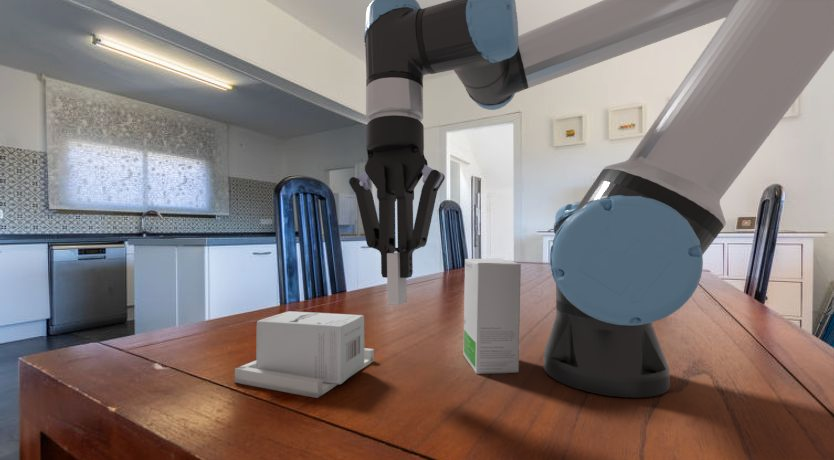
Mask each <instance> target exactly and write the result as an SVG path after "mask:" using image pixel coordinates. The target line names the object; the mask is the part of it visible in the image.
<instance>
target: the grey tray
mask: <svg viewBox="0 0 834 460" xmlns="http://www.w3.org/2000/svg"><path fill="white" fill-rule="evenodd" d="M374 362H375V349H374V348H367V347H364V366H363V367H361V368H360V369H359V370H358V371H356V372H355V373H354V374H353V375H355V374H356V373H358V372H359V371H361V370H362V369H364V368H366V367H367V366H369V365H370V364H372V363H374ZM353 375H351V376H350V377H352V376H353ZM234 383H235V384H239V385H240V384H241V385H246V386H251V387H256V388H262V389H266V390H272V391H278V392H281V393H282V392H284V393H288V394H294V395H298V396H299V395H300V396H304V397H309V398H310V397H311V398H315V399H319V398H320V397H321V396H323V395H324V394H327V392H329V391H330V390H332V389H333V388H335V387H337V386H338V385H339V384H333V383H324V382H323V380H322V379H316V378H310V377H304V376H298V375H292V374H286V373H280V372H274V371H268V370H262V369H256V360H253V361H250V362H247V363H245V364H244V365H243V364H242V365H241V366H238V367H235V368H234Z"/></svg>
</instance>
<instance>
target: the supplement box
mask: <svg viewBox="0 0 834 460" xmlns="http://www.w3.org/2000/svg"><path fill="white" fill-rule="evenodd" d="M255 344H256V350H255V351H256V352H255V353H256V355H255V358H256V369H262V370H268V371H274V372H280V373H286V374H292V375H298V376H304V377H310V378H316V379H322V380H323V382H324V383H333V384H338V385H341V384H343V383H344V382H345V381H347V380H348V379H349V378H351V377H352V376H354V375H355V374H356V373H357V372H356V371H358V370H359V369H360V368H361V367H363V366H364V348H365V316H364V315H363V314H347V313H346V314H345V313H330V312H308V311H290V310H289V311H284V312H282V313H278V314H275V315H272V316H269V317H266V318H262V319H260V320H257V322H256V343H255ZM359 371H360V370H359ZM359 371H358V372H359ZM355 372H356V373H355ZM354 373H355V374H354ZM351 375H352V376H351Z"/></svg>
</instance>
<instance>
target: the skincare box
mask: <svg viewBox="0 0 834 460" xmlns="http://www.w3.org/2000/svg"><path fill="white" fill-rule="evenodd" d="M521 267H522V265H521V263H518V262H515V261H512V260H508V259H503V258H465V259H464V294H463V298H464V299H463V303H464V304H463V306H464V307H463V347H462V348H463V352H462V353H463V356H464V358H465V359H466V361H467V362H468V364H469V365H470V367H471V368H472V369H473V371H474V372H475V374H476V375H484V374H485V375H487V374H511V373H512V374H513V373H514V374H515V373H517V374H518V373H520V370H519V369H520V325H521V324H520V323H521V322H520V321H521V320H520V318H521V317H520V313H521V311H520V309H521V277H522V276H521V274H522V273H521V271H522V270H521Z"/></svg>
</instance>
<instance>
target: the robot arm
mask: <svg viewBox="0 0 834 460" xmlns="http://www.w3.org/2000/svg"><path fill="white" fill-rule="evenodd" d="M723 19H724V21H723V22H722V23H721V24H720V26H719V28H718V29H717V31H716V32H715V33H714V35H713V36H712V38H711V39H710V41H709V42H708V44H707V45H706V46H705V48H704V50H703V51H702V52H701V54H700V55H699V57H698V58H697V59H696V61H695V63H694V64H693V65H692V67H691V68H690V70H689V71H688V72H687V74H686V75H685V76H684V78H683V80H682V81H681V83H680V84H679V86H678V87H677V89H676V90H675V91H674V93H673V94H672V96H671V97H670V98H669V100H668V102H667V103H666V104H665V106H664V107H663V108H662V110H661V111H660V113H659V115H658V116H657V117H656V119H655V120H654V122H653V123H652V125H651V126H650V128H649V129H648V131H646V133H645V135H644V136H643V137H642V139H641V141H640V142H639V144H638V145H637V146H636V148H635V150H634V151H633V152H632V153H631V155H630V156H629V158H628V159H626V160H625V161H621V162H618V163H614V164H610V165H606V166H604V168H603V169H601V172H600V174H598V175H597V178H596V179H595V180H594V181H593V183H592V184H591V186H590V187H589V189H588V190H587V192H586V193H585V194H584V196H583V197H582V199H581V200H580V201H575V202H573V203H569V204H566V205H563V206H561V207H560V208H559V209H558V210H557V211H556V212H555V217H554V219H555V220H554V223H553V232H554V237H553V239H552V245H551V246H550V253H549V265H550V271H551V276H552V278H553V280H554V282H555V304H556V307H555V312H556V313H555V318H554V321H553V323H552V327H551V330H550V333H549V336H548V339H547V341H546V346H545V348H544V351H543V369H544V371H545V373H546V374H547V376H549V377H551V378H552V379H553V380H555V381H557V382H560V383H561V384H564V385H566V386H568V387H571V388H574V389H578V390H581V391H583V392H584V391H585V392H588V393H592V394H598V395H604V396H608V397H611V396H612V397H616V398H617V397H619V398H635V399H636V398H637V399H638V398H650V397H656V396H660V395H663V394H665V393H667V392H668V391H669V390H670V387H671V380H670V374H671V373H670V367H669V364H668V361H667V359H666V356H665V354H664V351H663V348H662V346H661V344H660V341H659V339H658V336H657V332H656V330H655V327H654V325H653V323H654V322H658V321H660V320H663V319H665V318H667V317H669V316H671V315H672V314H675V312H677V311H679V309H681V308H682V307H683V306H684V305H685V304H686V303H687V302H688V301H689V300H690V299H691V298H692V296H693V294H694V293H696V292H695V291H696V290H697V288H698V286H699V283H700V282H701V278H702V274H703V273H702V272H703V265H704V264H703V263H704V260H703V258H704V257H703V255H704V254H705V253H706V251H707V250H708V249H709V247H710V246H711V245H712V243H713V242H714V241H715V240H716V238H718V236H719V234H721V232H722V231H723V229H724V228H725V226H726V223H727V222H726V218H725V216H724V213H723V210H722V207H721V199H722V198H723V196H724V195H725V194H726V193H727V191H728V190H729V188H731V186H732V184H733V183H734V182H735V181H736V179H737V178H738V177H739V176H740V175H741V174H742V172H743V170H744V169H745V168H746V167H747V165H748V163H749V162H750V161H751V160H752V158H753V157H754V155H755V154H756V153H757V152H758V150H759V149H760V148H761V146H762V145H763V144H764V143H765V141H766V140H767V139H768V137H769V136H770V135H771V134H772V132H773V130H774V129H775V128H776V127H777V126H778V124H779V123H780V121H781V120H782V119H783V118H784V116H785V115H786V114H787V112H788V111H789V110H790V108H791V107H792V106H793V105H794V103H795V102H796V100H797V99H798V98H799V96H801V94H802V93H803V92H804V90H806V89H805V88H806V87H807V86H808V85H809V84H810V82H811V81H812V79H813V78H814V77H815V75H817V73H818V72H819V70H820V69H821V67H823V65H824V64H825V62H826V61H827V60H828V58H829V57H830V56H831V55H832V53H833V52H834V0H601V1H599V2H596V3H593V4H591V5H589V6H587V7H584V8H582V9H580V10H577V11H574V12H572V13H570V14H567V15H565V16H562V17H560V18H558V19H556V20H553V21H551V22H549V23H547V24H544V25H542V26H540V27H539V26H538V27H536V28H534V29H532V30H529V31H527V32H525V33H522V34H520V35H519V23H518V13H517V5H516V0H448V1H444V2H442V3H441V2H440V3H438V4H434V5H431V6H427V7H423V8H422V7H421V6H420V4H419V2H418V1H417V0H372V1H371V2H370V3H369V5H368V7H367V8H366V13H365V31H364V36H363V37H364V39H363V42H364V43H365V44H364V47H365V74H366V75H365V77H366V79H365V80H366V81H365V82H366V83H365V84H366V85H365V119H366V121H368V122H367V124H366V125H365V128H366V129H365V130H366V131H365V134H366V136H365V137H366V138H365V139H366V143H365V146H366V152H367V153H366V154H367V160H366V162H365V165H364V171H362V173H361V174H359V175H357V176H356V177H354V176H352V177H350V178H349V180H348V183H349V185H350V187H351V190H353V192H354V194H355V196H356V201H357V202H356V203H357V206H358V211H359V215H360V219H361V224H362V227H363V233H364V236H365V240H366V245H367V247H368V248H371V249H375V250H377V251H378V252H379V253H380V263H381V264H380V268H381V269H380V270H381V274H380V275H381V276H382V278H386V279H387V282H386V283H387V284H386V288H387V291H386V292H387V306H400V305H403V304H406V303H407V302H408V300H407V299H408V297H407V296H408V295H407V279H408V278H409V279H410V278H412V275H413V272H414V270H413V267H414V266H413V254H414V252H415V251H416V250H418V249H421V248H424V247H425V246H426V245H427V242H428V238H429V233H430V228H431V223H432V218H433V215H434V209H435V204H436V201H437V196H438V191H439V190H440V188H441V186H442V184H443V182H444V181H445V179H446V176H445V174H444V173H442V172H441V171H439V170H437V169H433V168H431V167H430V166H428V160H427V158H426V157H425V154H424V151H425V149H424V148H425V141H424V140H425V135H424V134H425V131H424V128H425V127H424V124H423V122H422V121H423V119H424V76H426V75H435V74H439V73H444V72H450V71H454V73H455V74H456V75H457V77H458V79H459V81H460V82H461V83H462V85H463V86H464V88H465V91H466V93H467V95H468V96H469V98H470V99H471V100H472V101H473V102H474V103H475V104H476V105H478V106H480V108H482V109H485V110H489V111H493V110H494V111H495V110H499V109H502V108H503V107H506V106H507V105H508V104H509V103H510V102H511V101H512V100H513V99H514V97H515V95H516V93H520V92H522V91H525V90H527V89H530V88H533V87H536V86H539V85H543V84H544V83H546V82H549V81H553V80H555V79H558V78H561V77H563V76H567V75H570V74H572V73H574V72H577V71H579V70H580V71H581V70H584V69H585V68H588V67H592V66H594V65H598V64H600V63H602V62H603V63H604V62H605V61H608V60H611V59H614V58H617V57H619V56H623V55H624V54H627V53H630V52H633V51H636V50H638V49H641V48H645V47H647V46H650V45H652V44H656V43H658V42H662V41H664V40H666V39H669V38H672V37H675V36H678V35H681V34H683V33H686V32H689V31H691V30H694V29H697V28H700V27H704V26H705V25H707V24H708V25H709V24H711V23H714V22H716V21H720V20H723ZM421 179H422V182H423V185H422V187H421V191H420V196H419V201H418V205H417V206H418V207H417V210H416V215H415V219H414V200H415V188H416V186H417V185H418V184H419V182H420V180H421ZM372 184H373V185H374V187H375V188H376V197H377V200H378V212H377V208H376V205H375V201H374V196H373V193H372V191H371V189H372ZM396 215H397V216H396ZM414 220H415V221H414ZM396 222H397V223H396ZM396 225H397V227H396ZM396 229H397V238H396ZM396 239H397V242H396ZM396 243H397V246H396Z"/></svg>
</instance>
